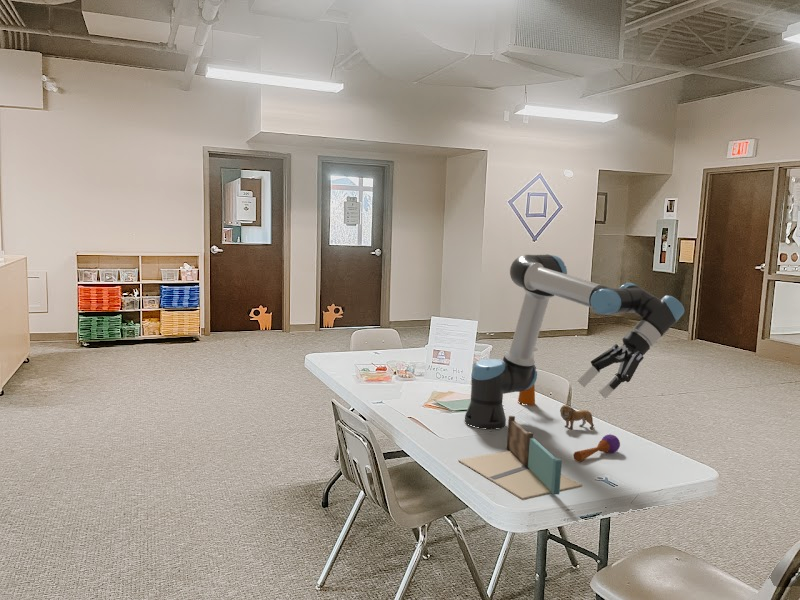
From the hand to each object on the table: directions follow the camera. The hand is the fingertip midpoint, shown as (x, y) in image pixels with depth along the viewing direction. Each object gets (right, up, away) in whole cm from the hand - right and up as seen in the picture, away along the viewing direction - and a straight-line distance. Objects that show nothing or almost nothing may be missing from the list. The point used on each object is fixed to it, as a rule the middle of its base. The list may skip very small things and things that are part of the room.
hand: (590, 389), depth 188 cm
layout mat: (-22, -25, +1) cm, 33 cm away
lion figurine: (+8, -21, +46) cm, 52 cm away
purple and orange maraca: (+7, -25, +19) cm, 32 cm away
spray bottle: (-6, -17, +77) cm, 79 cm away
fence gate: (-16, -25, -6) cm, 30 cm away
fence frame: (-19, -24, +13) cm, 33 cm away
